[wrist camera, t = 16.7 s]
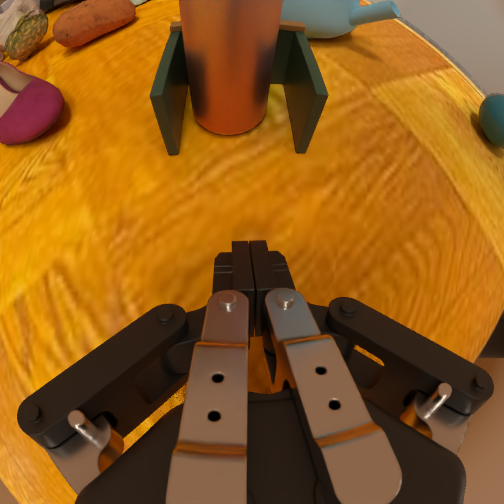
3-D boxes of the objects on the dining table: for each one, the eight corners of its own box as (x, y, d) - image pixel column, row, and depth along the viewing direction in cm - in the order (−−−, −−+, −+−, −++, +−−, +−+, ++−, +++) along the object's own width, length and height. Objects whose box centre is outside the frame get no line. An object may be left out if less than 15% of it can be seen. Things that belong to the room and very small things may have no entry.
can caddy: (305, 153, 20) (331, 88, 13) (168, 155, 19) (146, 89, 13) (290, 79, 23) (303, 22, 16) (180, 80, 22) (171, 22, 15)
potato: (55, 44, 23) (48, 10, 16) (129, 16, 28) (130, -18, 21) (59, 62, 23) (50, 23, 16) (142, 30, 27) (144, -8, 20)
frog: (44, 22, 28) (74, 32, 27) (1, 62, 26) (20, 82, 25) (27, -10, 16) (54, -11, 16) (-22, 33, 14) (-11, 44, 14)
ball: (510, 170, 22) (540, 135, 15) (470, 134, 24) (497, 92, 17) (505, 142, 25) (529, 110, 18) (468, 111, 27) (490, 75, 19)
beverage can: (188, 98, 21) (171, -54, 7) (252, 86, 22) (269, -60, 8) (201, 146, 20) (180, -44, 5) (274, 131, 21) (312, -44, 6)
